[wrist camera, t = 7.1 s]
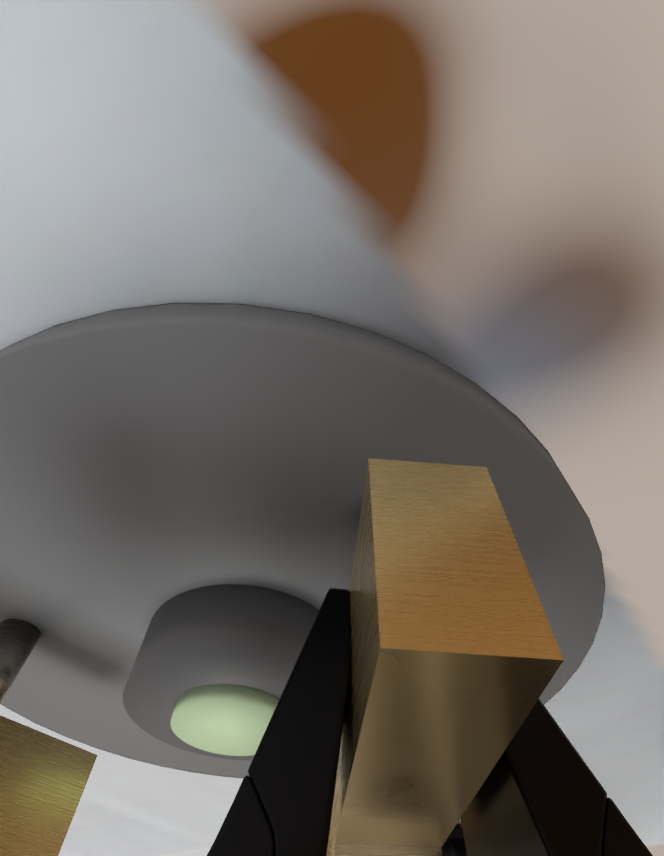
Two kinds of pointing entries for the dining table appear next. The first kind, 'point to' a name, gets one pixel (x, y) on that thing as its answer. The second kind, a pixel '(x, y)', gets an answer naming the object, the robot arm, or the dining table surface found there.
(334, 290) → the dining table surface
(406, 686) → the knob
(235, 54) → the dining table surface
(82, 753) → the wooden plank block
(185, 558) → the levelling base
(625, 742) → the dining table surface
